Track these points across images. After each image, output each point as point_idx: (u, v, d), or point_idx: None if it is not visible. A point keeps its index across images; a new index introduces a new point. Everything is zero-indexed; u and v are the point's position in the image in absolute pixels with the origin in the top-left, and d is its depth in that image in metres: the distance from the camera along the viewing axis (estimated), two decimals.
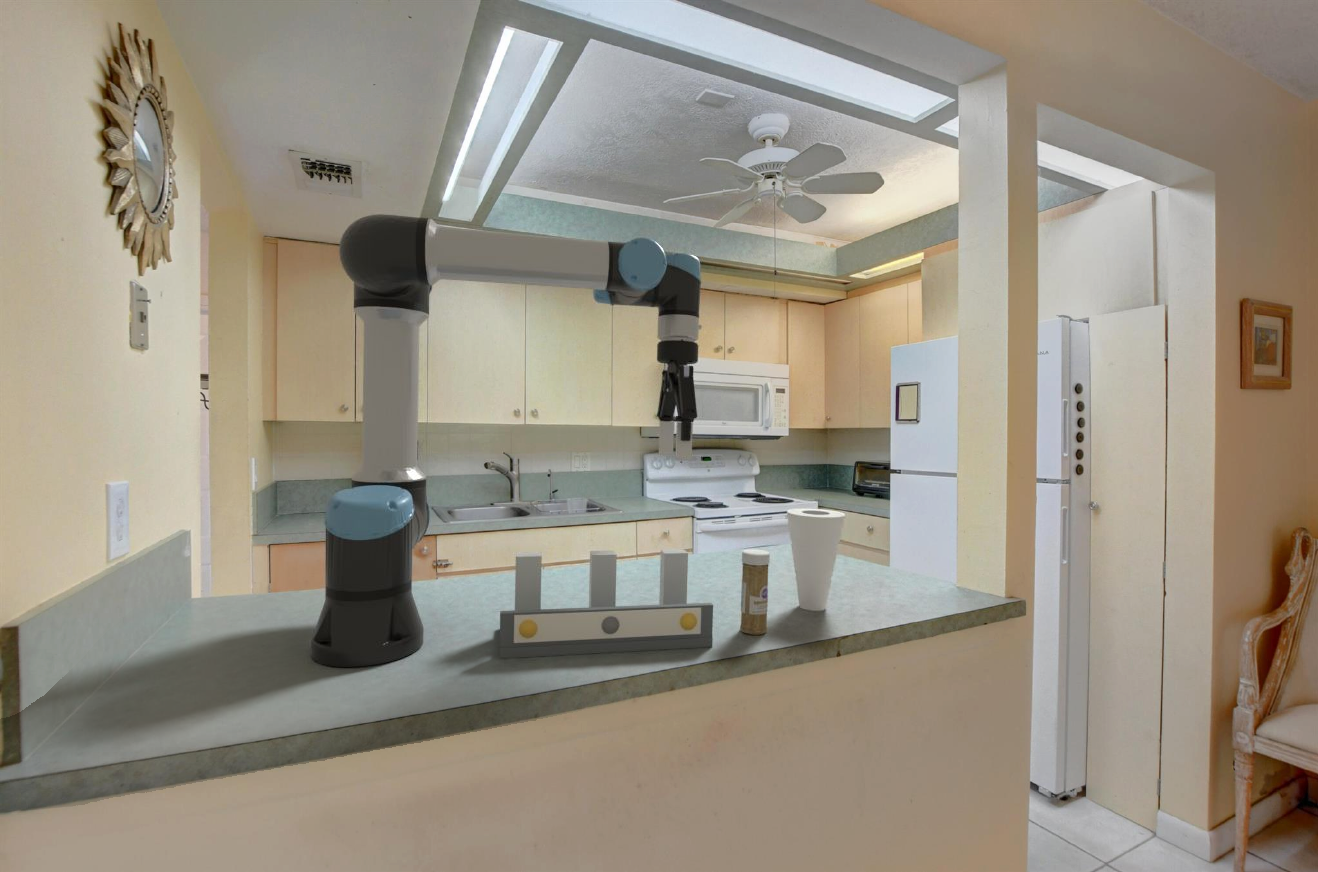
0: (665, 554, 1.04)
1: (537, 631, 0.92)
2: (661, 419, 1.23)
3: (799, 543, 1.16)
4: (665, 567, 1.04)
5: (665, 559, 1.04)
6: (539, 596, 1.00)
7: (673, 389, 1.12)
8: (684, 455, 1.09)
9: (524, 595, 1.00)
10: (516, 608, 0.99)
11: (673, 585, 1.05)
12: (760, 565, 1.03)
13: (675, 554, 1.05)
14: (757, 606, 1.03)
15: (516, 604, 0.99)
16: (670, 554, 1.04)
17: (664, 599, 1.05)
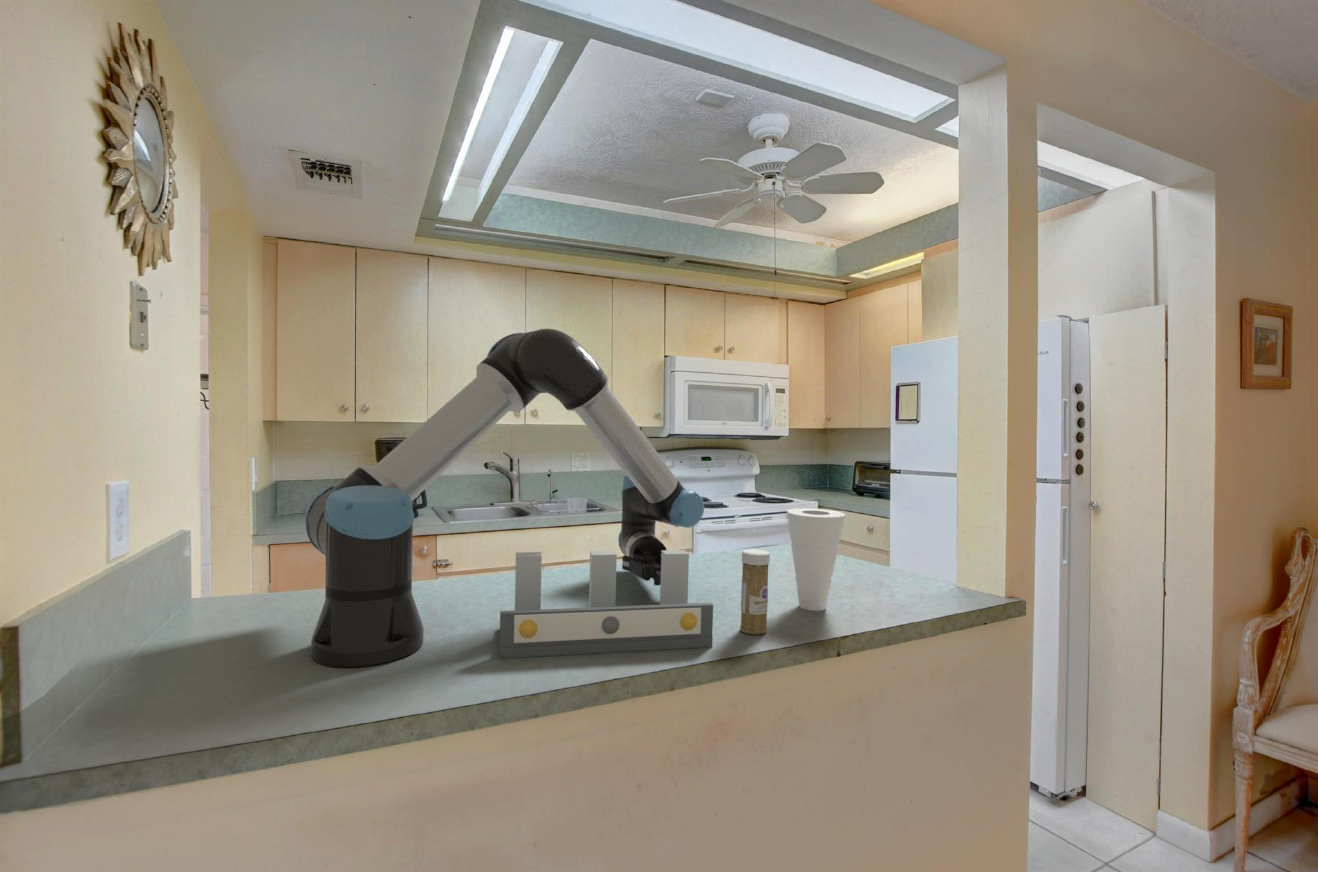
0: (666, 555, 1.04)
1: (537, 631, 0.92)
2: None
3: (799, 543, 1.16)
4: (666, 568, 1.04)
5: (666, 560, 1.04)
6: (539, 596, 1.00)
7: None
8: None
9: (524, 595, 1.00)
10: (516, 608, 0.99)
11: (673, 586, 1.04)
12: (760, 565, 1.03)
13: (676, 555, 1.04)
14: (757, 606, 1.03)
15: (516, 604, 0.99)
16: (671, 555, 1.04)
17: (665, 600, 1.04)
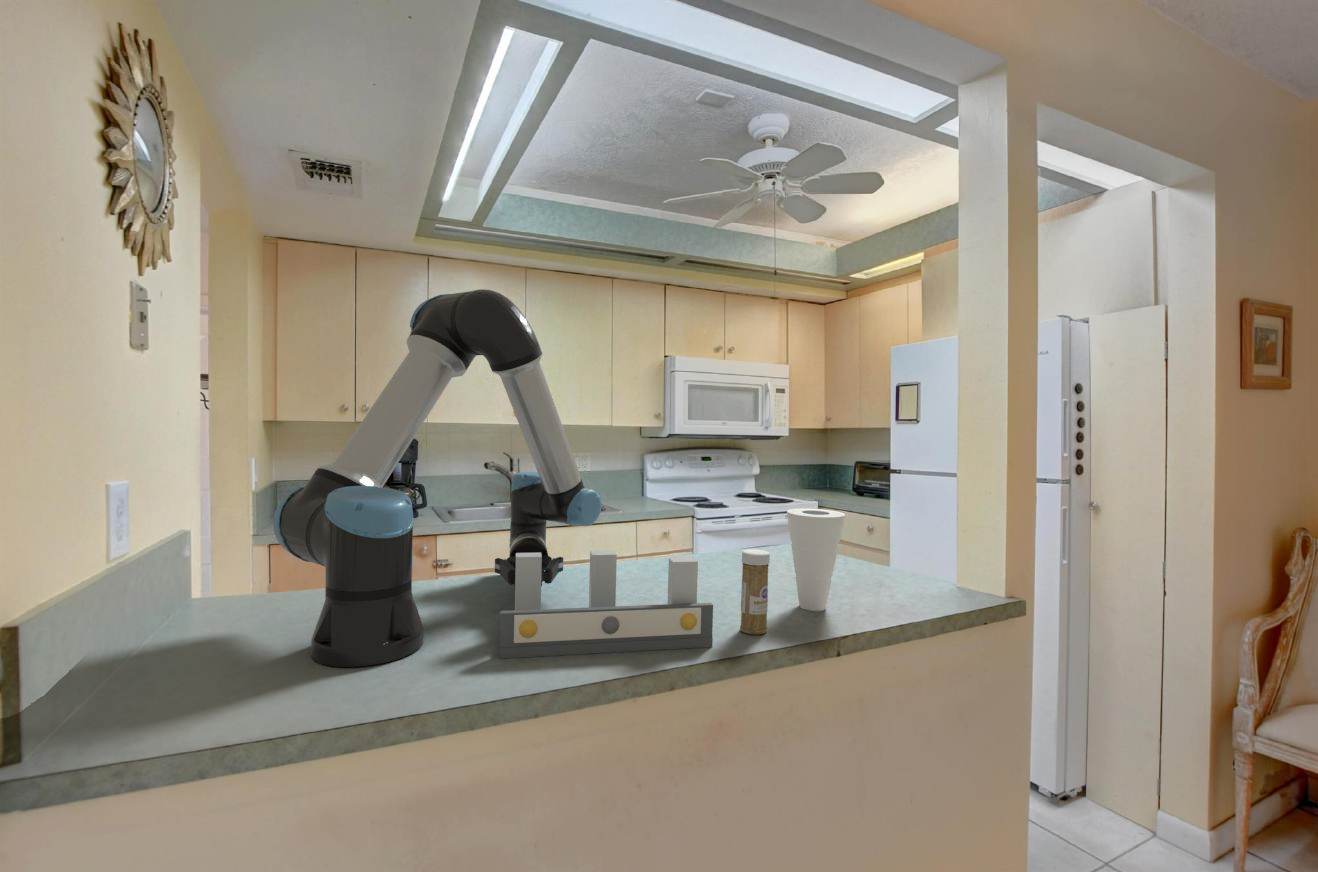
0: (674, 563, 0.98)
1: (537, 631, 0.92)
2: None
3: (799, 543, 1.16)
4: (674, 577, 0.98)
5: (674, 568, 0.98)
6: (539, 597, 1.00)
7: None
8: None
9: (524, 595, 0.99)
10: (516, 609, 0.99)
11: (682, 595, 0.99)
12: (760, 565, 1.03)
13: (684, 563, 0.99)
14: (757, 606, 1.03)
15: (516, 605, 0.99)
16: (679, 563, 0.99)
17: None
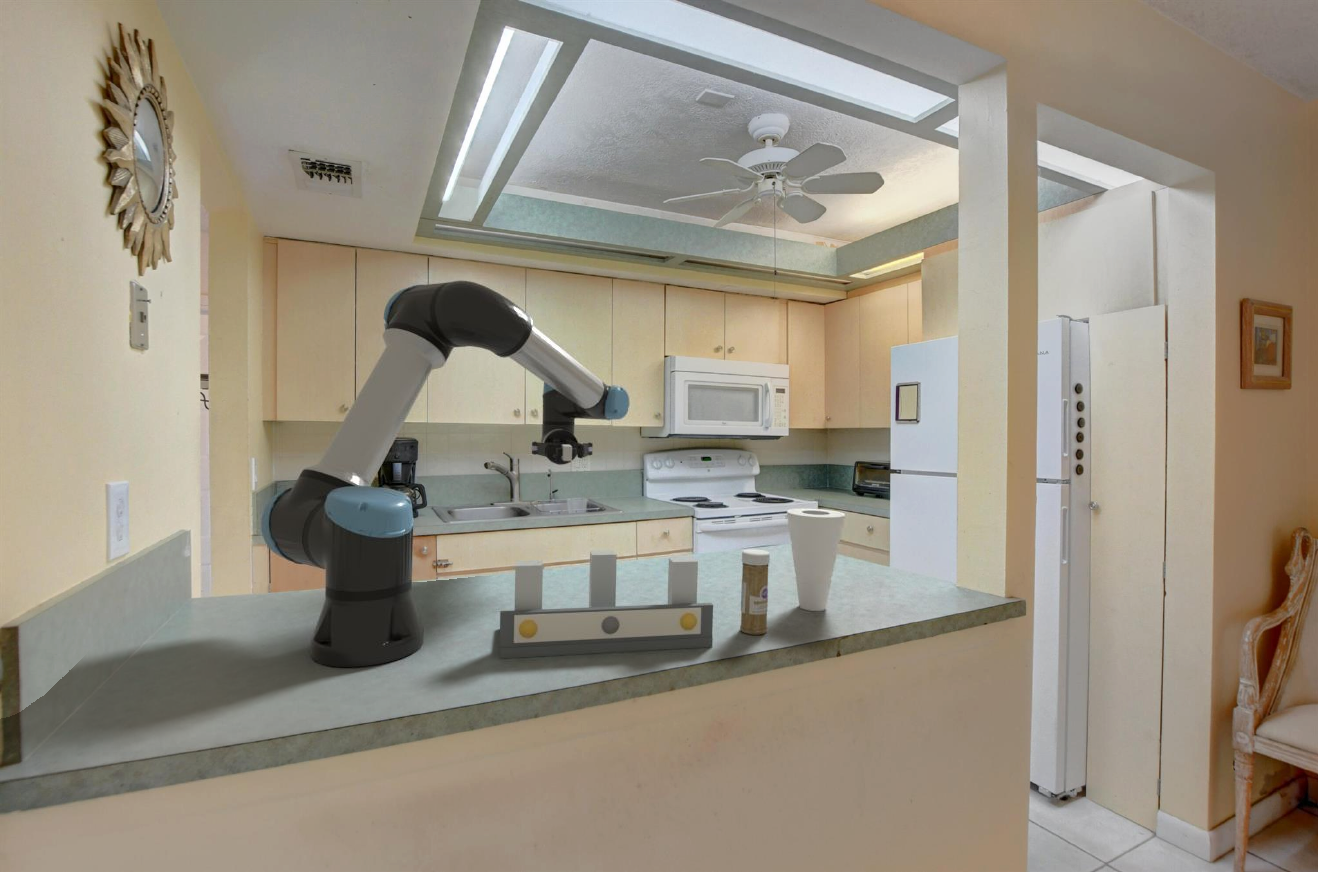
0: (674, 563, 0.98)
1: (537, 631, 0.92)
2: (561, 446, 1.24)
3: (799, 543, 1.16)
4: (674, 577, 0.98)
5: (674, 568, 0.98)
6: (540, 608, 0.94)
7: (571, 442, 1.31)
8: (571, 453, 1.18)
9: (524, 606, 0.94)
10: None
11: (682, 595, 0.99)
12: (760, 565, 1.03)
13: (684, 563, 0.99)
14: (757, 606, 1.03)
15: None
16: (679, 563, 0.99)
17: None
